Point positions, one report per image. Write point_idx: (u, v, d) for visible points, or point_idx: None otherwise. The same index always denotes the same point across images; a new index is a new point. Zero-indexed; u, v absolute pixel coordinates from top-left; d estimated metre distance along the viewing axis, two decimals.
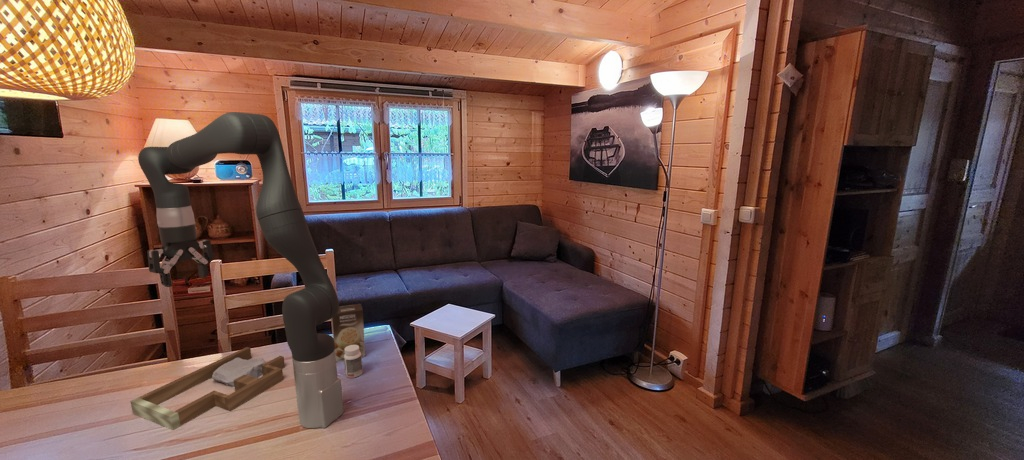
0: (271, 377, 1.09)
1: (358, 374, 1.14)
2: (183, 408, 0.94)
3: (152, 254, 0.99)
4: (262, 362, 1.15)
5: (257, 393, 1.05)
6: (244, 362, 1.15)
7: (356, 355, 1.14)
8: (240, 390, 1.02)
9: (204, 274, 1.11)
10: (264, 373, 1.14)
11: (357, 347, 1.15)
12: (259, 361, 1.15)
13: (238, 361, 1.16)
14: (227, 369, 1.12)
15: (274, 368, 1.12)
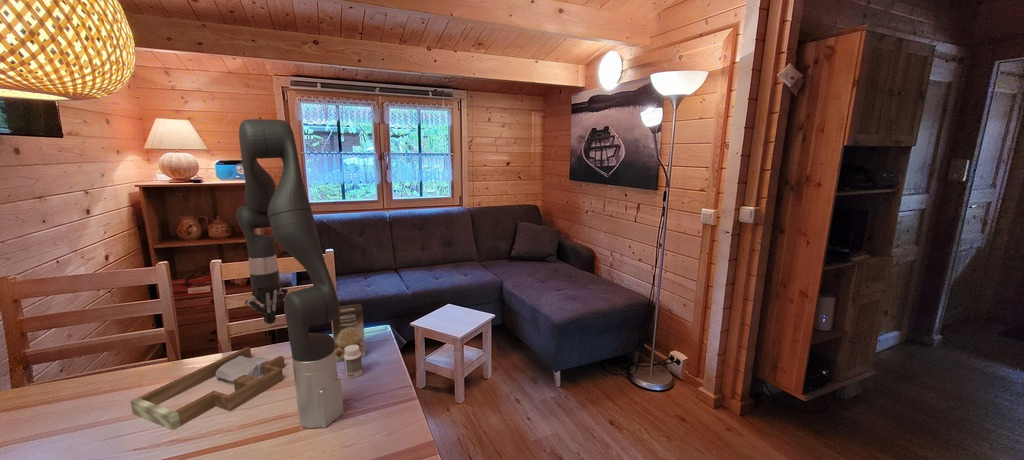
0: (271, 377, 1.09)
1: (358, 374, 1.14)
2: (183, 408, 0.94)
3: (251, 305, 1.15)
4: (265, 360, 1.17)
5: (257, 393, 1.05)
6: (247, 360, 1.16)
7: (356, 355, 1.14)
8: (240, 390, 1.02)
9: (273, 320, 1.22)
10: (264, 373, 1.14)
11: (357, 347, 1.15)
12: (262, 359, 1.16)
13: (241, 359, 1.17)
14: (231, 367, 1.13)
15: (274, 368, 1.12)
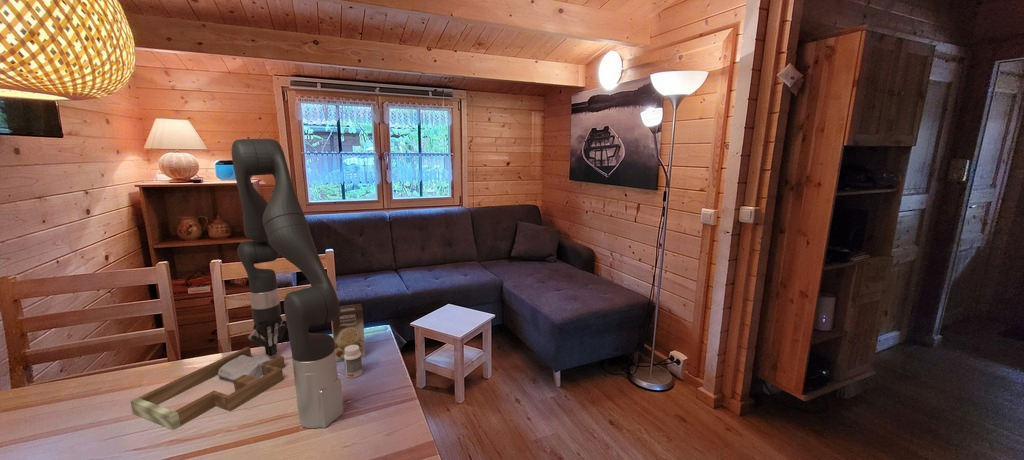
0: (271, 377, 1.09)
1: (358, 374, 1.14)
2: (183, 408, 0.94)
3: (253, 339, 1.16)
4: (267, 359, 1.17)
5: (257, 393, 1.05)
6: (249, 359, 1.17)
7: (356, 355, 1.14)
8: (240, 390, 1.02)
9: (274, 352, 1.23)
10: (264, 373, 1.14)
11: (357, 347, 1.15)
12: (264, 358, 1.17)
13: (243, 358, 1.18)
14: (233, 366, 1.14)
15: (274, 368, 1.12)
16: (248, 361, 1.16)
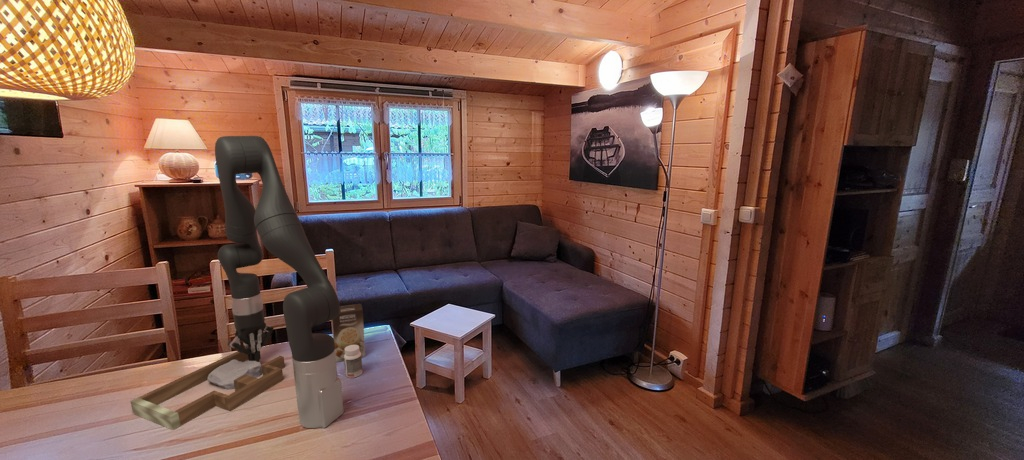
0: (271, 377, 1.09)
1: (358, 374, 1.14)
2: (183, 408, 0.94)
3: (234, 347, 1.12)
4: (257, 364, 1.14)
5: (257, 393, 1.05)
6: (240, 364, 1.14)
7: (356, 355, 1.14)
8: (240, 390, 1.02)
9: (257, 360, 1.18)
10: (264, 373, 1.14)
11: (357, 347, 1.15)
12: (254, 363, 1.14)
13: (234, 363, 1.15)
14: (223, 372, 1.11)
15: (274, 368, 1.12)
16: (238, 366, 1.13)
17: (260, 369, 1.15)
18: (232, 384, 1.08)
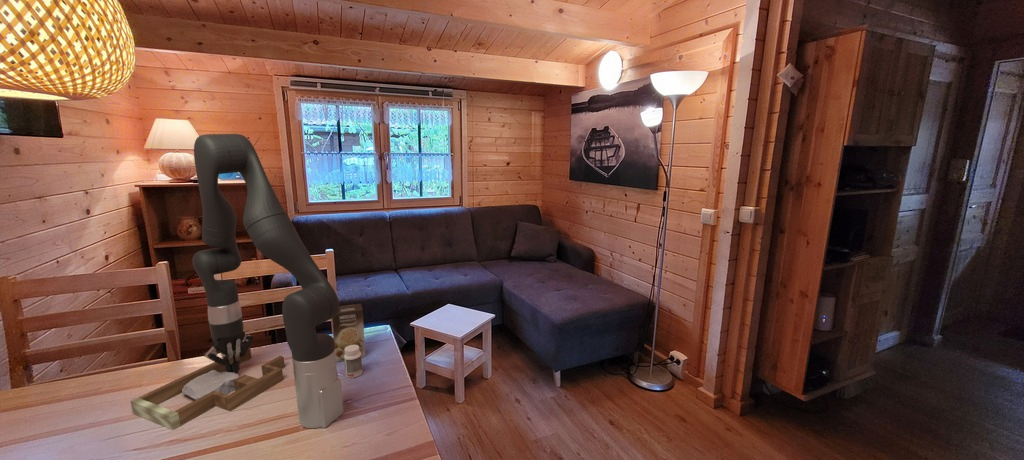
0: (271, 377, 1.09)
1: (358, 374, 1.14)
2: (183, 408, 0.94)
3: (210, 358, 1.06)
4: (235, 377, 1.08)
5: (257, 393, 1.05)
6: (217, 376, 1.08)
7: (356, 355, 1.14)
8: (240, 390, 1.02)
9: (236, 371, 1.13)
10: (264, 373, 1.14)
11: (357, 347, 1.15)
12: (232, 376, 1.08)
13: (212, 374, 1.10)
14: (198, 383, 1.05)
15: (274, 368, 1.12)
16: (215, 378, 1.07)
17: None
18: None
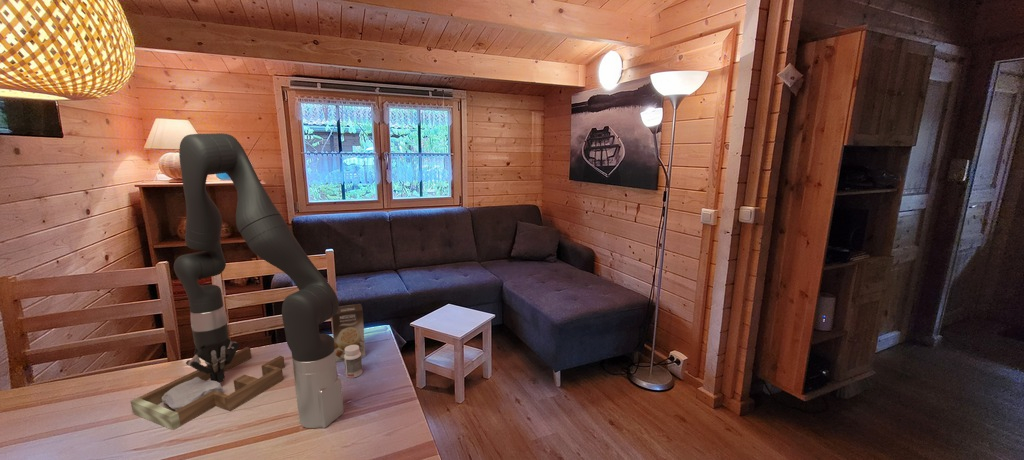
0: (271, 377, 1.09)
1: (358, 374, 1.14)
2: (183, 408, 0.94)
3: (193, 366, 1.02)
4: (216, 386, 1.04)
5: (257, 393, 1.05)
6: (199, 384, 1.04)
7: (356, 355, 1.14)
8: (240, 390, 1.02)
9: (221, 379, 1.09)
10: (264, 373, 1.14)
11: (357, 347, 1.15)
12: (213, 385, 1.04)
13: (195, 382, 1.06)
14: (179, 392, 1.02)
15: (274, 368, 1.12)
16: (196, 386, 1.03)
17: (219, 391, 1.04)
18: None
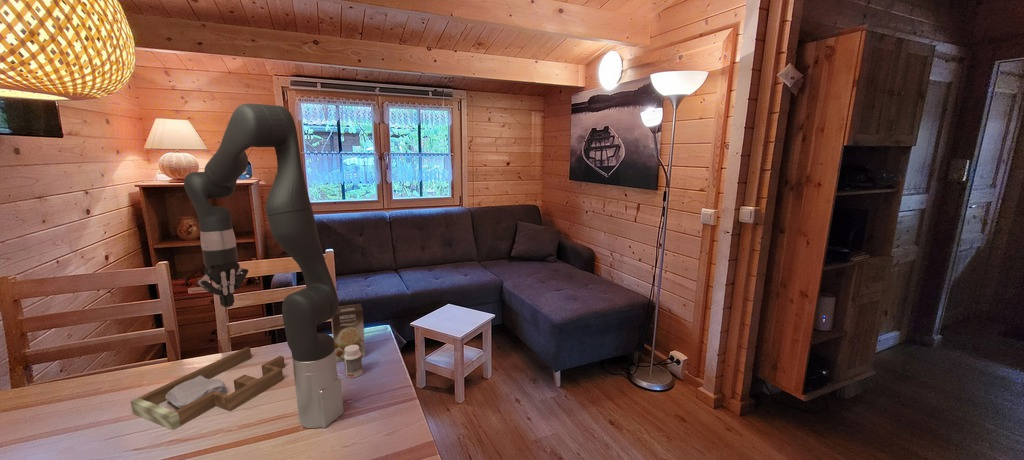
0: (271, 377, 1.09)
1: (358, 374, 1.14)
2: (183, 408, 0.94)
3: (203, 285, 1.02)
4: (219, 384, 1.04)
5: (257, 393, 1.05)
6: (202, 382, 1.05)
7: (356, 355, 1.14)
8: (240, 390, 1.02)
9: (230, 303, 1.09)
10: (264, 373, 1.14)
11: (357, 347, 1.15)
12: (216, 383, 1.04)
13: (198, 380, 1.06)
14: (182, 390, 1.02)
15: (274, 368, 1.12)
16: (200, 385, 1.04)
17: (222, 389, 1.05)
18: None
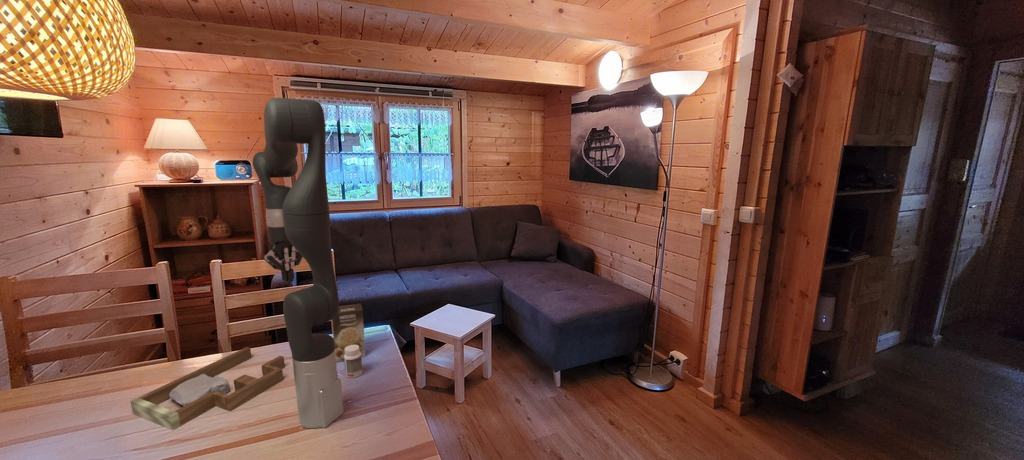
0: (271, 377, 1.09)
1: (358, 374, 1.14)
2: (183, 408, 0.94)
3: (269, 260, 1.07)
4: (223, 382, 1.05)
5: (257, 393, 1.05)
6: (206, 380, 1.06)
7: (356, 355, 1.14)
8: (240, 390, 1.02)
9: (291, 278, 1.14)
10: (264, 373, 1.14)
11: (357, 347, 1.15)
12: (220, 381, 1.05)
13: (201, 378, 1.07)
14: (186, 388, 1.03)
15: (274, 368, 1.12)
16: (203, 383, 1.05)
17: (226, 387, 1.06)
18: None
